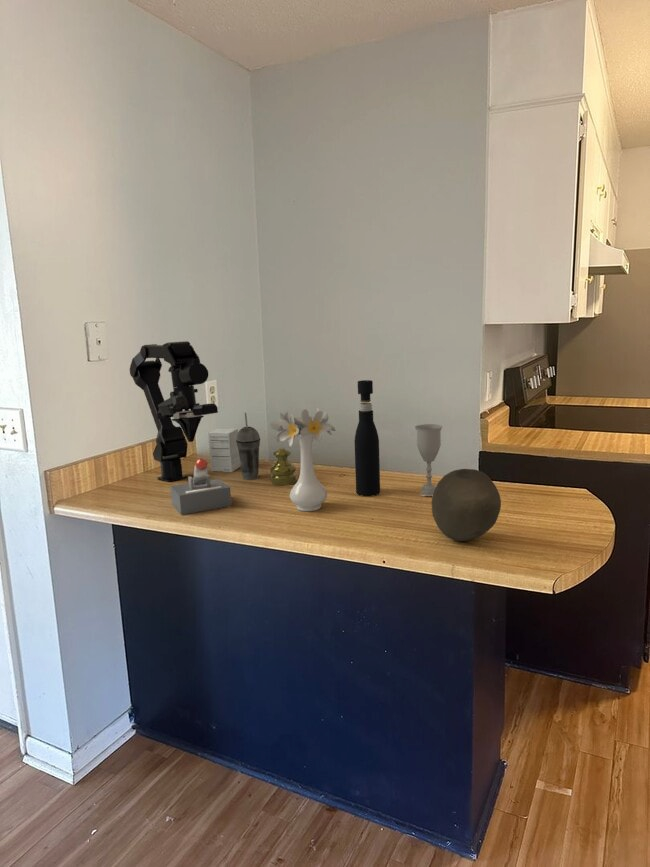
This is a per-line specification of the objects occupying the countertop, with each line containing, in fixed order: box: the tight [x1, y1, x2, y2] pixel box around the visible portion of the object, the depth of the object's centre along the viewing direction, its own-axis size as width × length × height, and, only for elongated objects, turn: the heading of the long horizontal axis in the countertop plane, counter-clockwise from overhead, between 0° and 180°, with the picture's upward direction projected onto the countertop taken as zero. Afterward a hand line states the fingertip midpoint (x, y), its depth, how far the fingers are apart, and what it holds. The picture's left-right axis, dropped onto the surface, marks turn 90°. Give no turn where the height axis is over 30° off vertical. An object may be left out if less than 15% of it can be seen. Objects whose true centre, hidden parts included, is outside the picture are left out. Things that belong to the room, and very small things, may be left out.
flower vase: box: [269, 407, 336, 512], centre depth 155 cm, size 13×18×25 cm
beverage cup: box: [236, 412, 261, 481], centre depth 186 cm, size 7×7×20 cm
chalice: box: [414, 423, 443, 496], centre depth 163 cm, size 7×7×18 cm
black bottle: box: [354, 379, 381, 497], centre depth 165 cm, size 6×6×30 cm
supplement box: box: [208, 427, 241, 473], centre depth 199 cm, size 7×7×13 cm
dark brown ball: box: [431, 468, 502, 542], centre depth 130 cm, size 14×14×15 cm
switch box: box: [169, 473, 232, 516], centre depth 162 cm, size 10×13×8 cm
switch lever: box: [192, 457, 209, 486], centre depth 159 cm, size 3×3×8 cm
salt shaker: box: [269, 447, 297, 486], centre depth 181 cm, size 7×7×10 cm
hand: (191, 441), depth 177 cm, fingers closed
